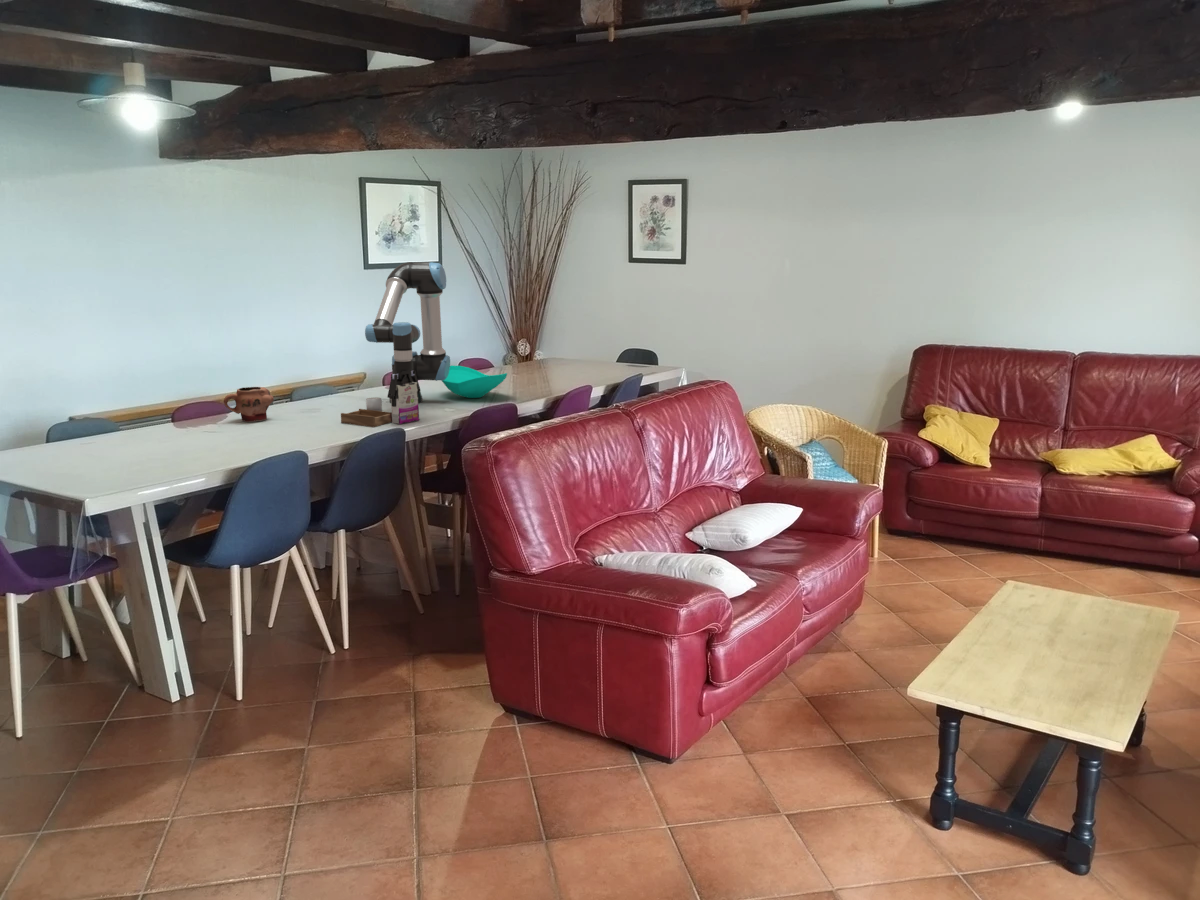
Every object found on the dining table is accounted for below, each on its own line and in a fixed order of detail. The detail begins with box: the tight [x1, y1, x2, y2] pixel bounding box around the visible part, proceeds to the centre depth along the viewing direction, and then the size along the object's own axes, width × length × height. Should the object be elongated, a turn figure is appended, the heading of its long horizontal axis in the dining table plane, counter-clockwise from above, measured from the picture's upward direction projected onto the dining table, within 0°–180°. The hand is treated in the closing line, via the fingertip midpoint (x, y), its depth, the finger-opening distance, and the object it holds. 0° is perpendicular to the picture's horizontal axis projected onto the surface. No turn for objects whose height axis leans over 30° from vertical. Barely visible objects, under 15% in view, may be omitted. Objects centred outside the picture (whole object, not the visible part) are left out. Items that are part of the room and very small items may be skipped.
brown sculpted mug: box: [223, 386, 275, 423], centre depth 382 cm, size 20×12×14 cm, turn 132°
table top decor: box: [440, 365, 508, 399], centre depth 444 cm, size 40×28×13 cm
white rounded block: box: [365, 397, 383, 411], centre depth 395 cm, size 6×6×8 cm
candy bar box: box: [390, 382, 420, 425], centre depth 384 cm, size 11×5×16 cm, turn 143°
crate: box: [340, 408, 392, 428], centre depth 383 cm, size 12×17×4 cm
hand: (405, 411), depth 385 cm, fingers closed on candy bar box, 12 cm apart
